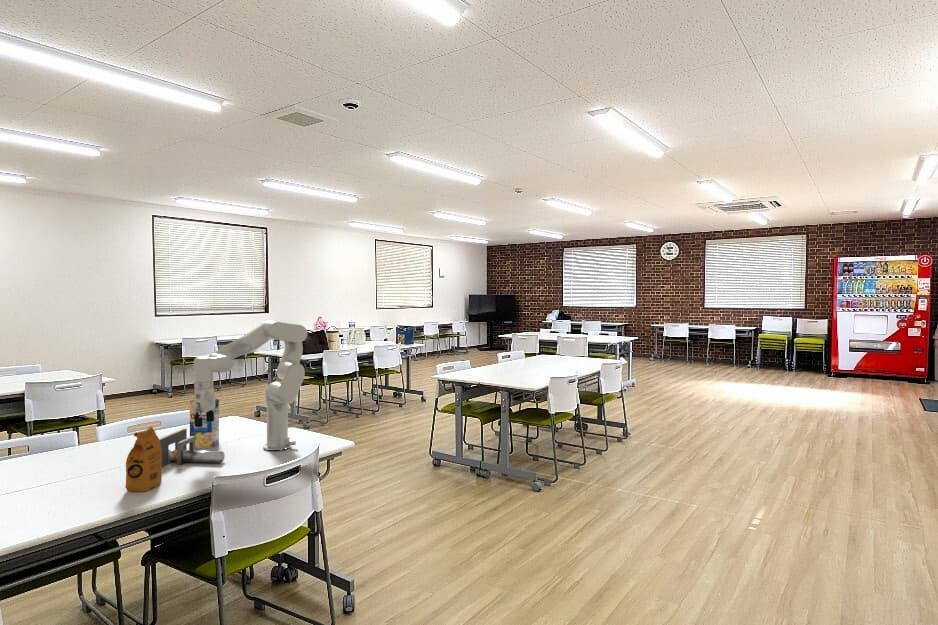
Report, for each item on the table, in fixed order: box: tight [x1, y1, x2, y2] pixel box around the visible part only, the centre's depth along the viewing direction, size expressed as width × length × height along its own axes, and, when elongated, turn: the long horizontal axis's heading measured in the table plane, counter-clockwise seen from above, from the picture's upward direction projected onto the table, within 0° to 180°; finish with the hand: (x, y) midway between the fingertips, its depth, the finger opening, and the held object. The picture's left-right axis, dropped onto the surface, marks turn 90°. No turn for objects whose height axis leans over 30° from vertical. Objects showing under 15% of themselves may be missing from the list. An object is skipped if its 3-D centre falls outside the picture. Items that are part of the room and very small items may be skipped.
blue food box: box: [189, 398, 220, 448], centre depth 270 cm, size 7×11×22 cm, turn 86°
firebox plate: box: [158, 427, 188, 468], centre depth 244 cm, size 2×20×12 cm, turn 177°
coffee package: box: [125, 426, 163, 493], centre depth 212 cm, size 10×12×22 cm
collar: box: [176, 436, 196, 466], centre depth 244 cm, size 2×11×10 cm, turn 177°
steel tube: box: [169, 449, 225, 464], centre depth 244 cm, size 24×5×5 cm, turn 87°
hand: (204, 423), depth 244 cm, fingers open, 9 cm apart
